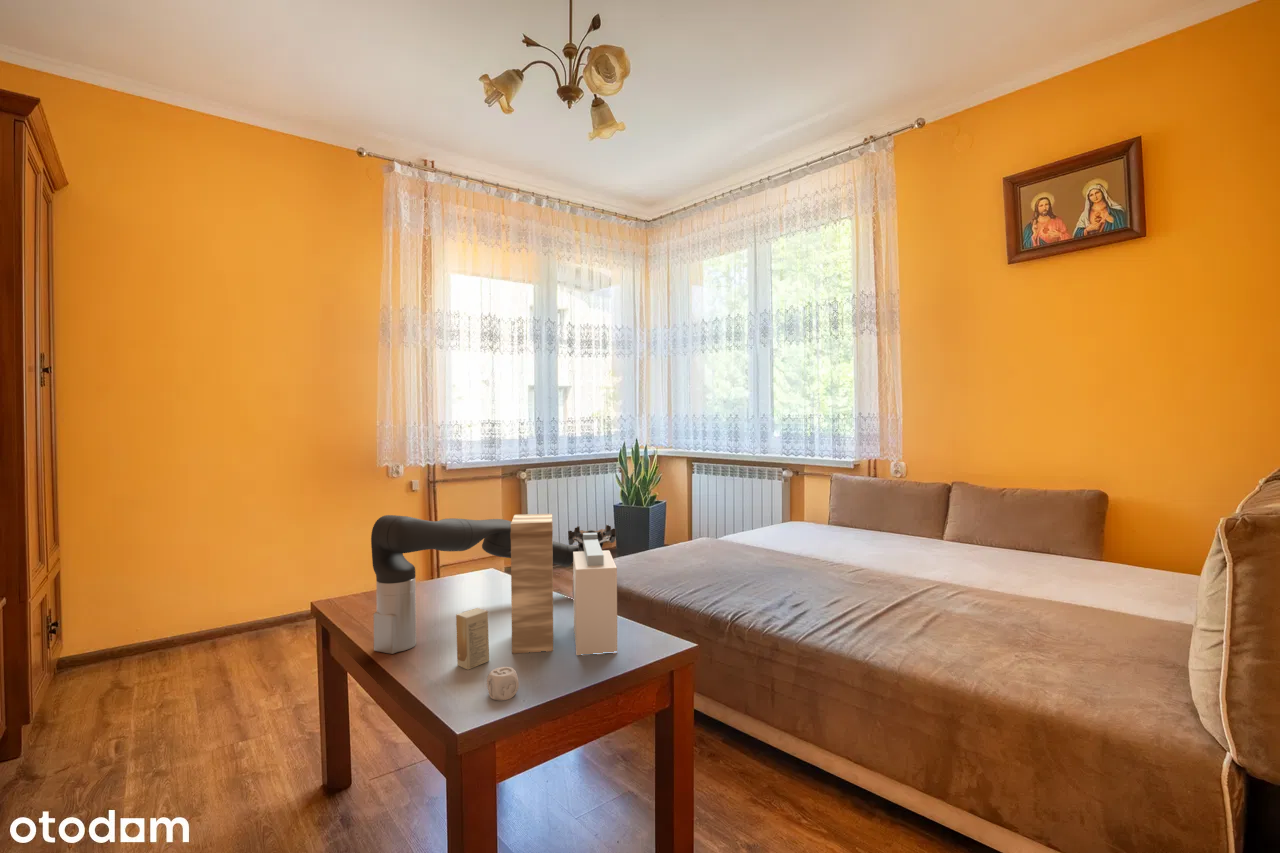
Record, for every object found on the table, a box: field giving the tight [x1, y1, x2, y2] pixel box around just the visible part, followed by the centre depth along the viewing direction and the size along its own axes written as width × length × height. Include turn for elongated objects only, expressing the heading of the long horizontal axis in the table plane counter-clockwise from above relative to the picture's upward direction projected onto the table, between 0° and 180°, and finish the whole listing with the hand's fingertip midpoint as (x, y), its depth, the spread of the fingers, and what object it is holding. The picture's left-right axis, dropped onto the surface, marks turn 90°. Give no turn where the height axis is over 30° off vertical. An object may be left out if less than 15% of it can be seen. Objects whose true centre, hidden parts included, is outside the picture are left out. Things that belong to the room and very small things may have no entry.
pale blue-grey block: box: [583, 533, 604, 566], centre depth 160 cm, size 24×4×4 cm, turn 8°
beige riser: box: [572, 549, 618, 655], centre depth 155 cm, size 20×10×21 cm, turn 8°
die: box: [486, 666, 520, 702], centre depth 124 cm, size 5×5×5 cm
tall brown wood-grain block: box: [510, 513, 554, 654], centre depth 153 cm, size 14×10×32 cm
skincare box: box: [455, 607, 490, 670], centre depth 140 cm, size 6×4×12 cm
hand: (593, 528), depth 173 cm, fingers open, 8 cm apart
